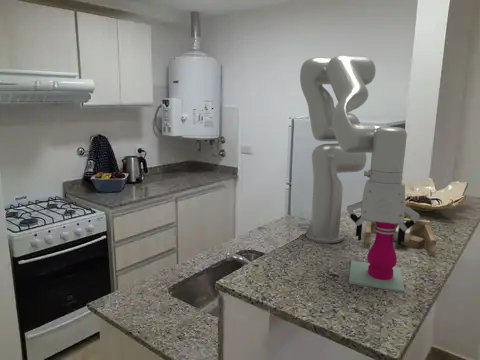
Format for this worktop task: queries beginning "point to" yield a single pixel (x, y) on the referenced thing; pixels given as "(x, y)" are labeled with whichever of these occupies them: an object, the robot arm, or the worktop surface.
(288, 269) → the worktop surface
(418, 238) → the walnut offcut
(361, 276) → the green mat
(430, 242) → the oak rack
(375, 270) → the pepper mill
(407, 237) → the birch offcut
